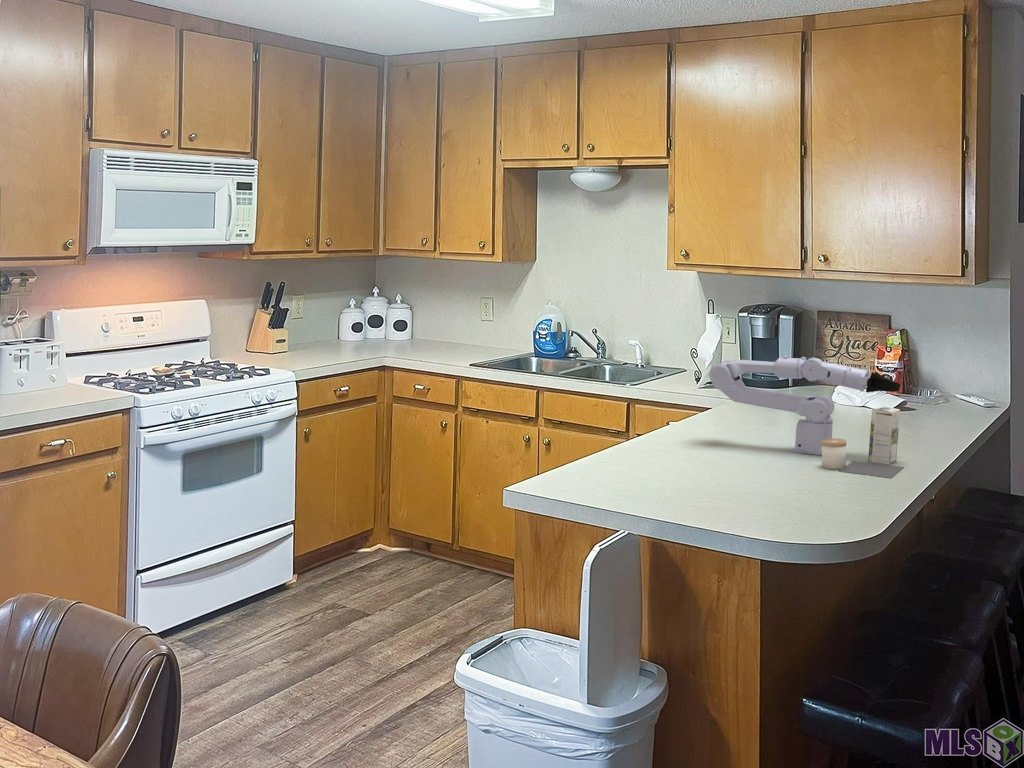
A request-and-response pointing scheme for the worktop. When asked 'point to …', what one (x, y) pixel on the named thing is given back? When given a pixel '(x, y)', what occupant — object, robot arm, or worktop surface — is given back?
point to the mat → (872, 469)
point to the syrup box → (884, 435)
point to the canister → (833, 453)
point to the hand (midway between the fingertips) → (898, 387)
